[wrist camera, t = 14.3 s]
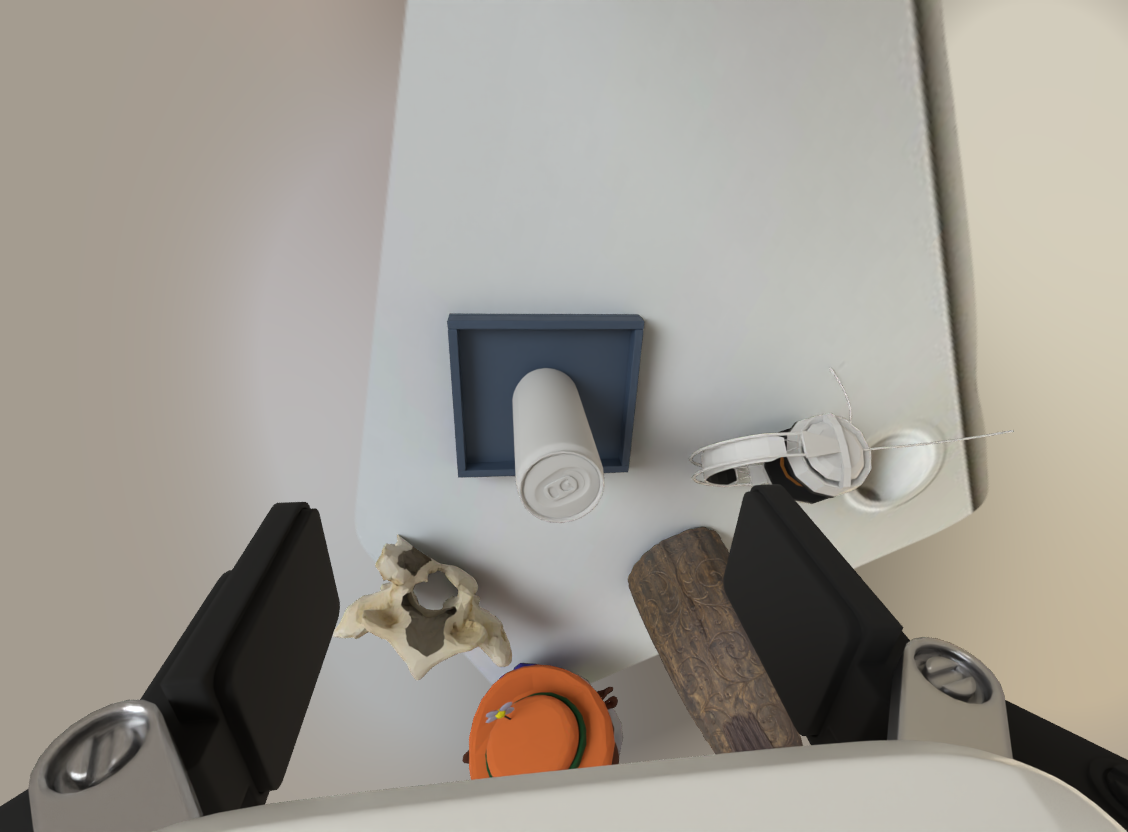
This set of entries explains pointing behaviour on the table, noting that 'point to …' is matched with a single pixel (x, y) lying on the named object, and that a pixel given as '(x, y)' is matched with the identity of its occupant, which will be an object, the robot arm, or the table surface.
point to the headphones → (798, 458)
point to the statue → (708, 645)
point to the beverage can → (554, 448)
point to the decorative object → (424, 614)
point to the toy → (542, 724)
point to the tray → (534, 341)
